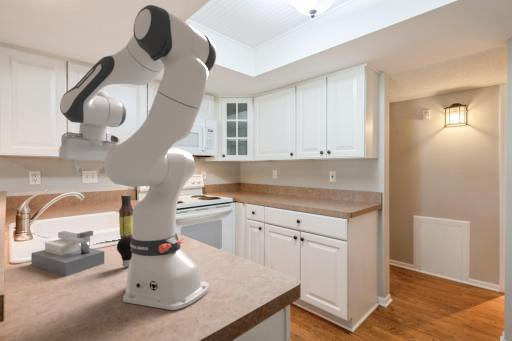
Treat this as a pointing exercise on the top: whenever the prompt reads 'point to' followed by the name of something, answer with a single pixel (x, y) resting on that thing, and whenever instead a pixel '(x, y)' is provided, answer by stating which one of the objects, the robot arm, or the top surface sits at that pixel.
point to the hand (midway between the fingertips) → (90, 173)
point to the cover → (61, 246)
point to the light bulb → (125, 250)
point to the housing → (67, 261)
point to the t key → (78, 239)
